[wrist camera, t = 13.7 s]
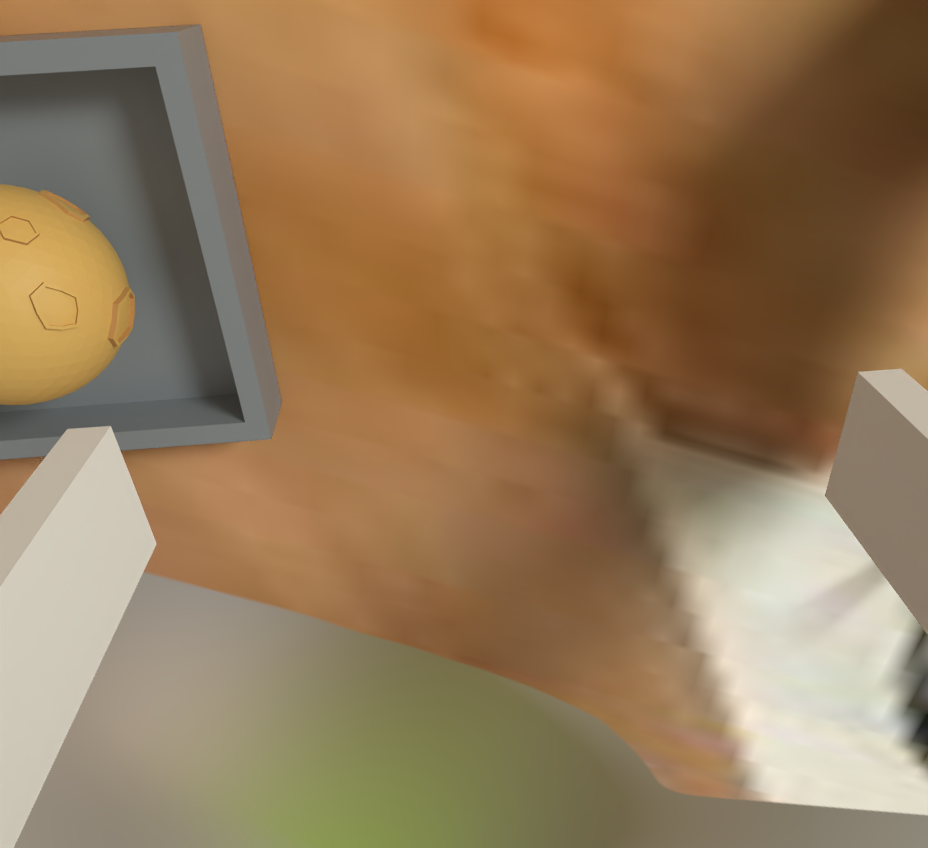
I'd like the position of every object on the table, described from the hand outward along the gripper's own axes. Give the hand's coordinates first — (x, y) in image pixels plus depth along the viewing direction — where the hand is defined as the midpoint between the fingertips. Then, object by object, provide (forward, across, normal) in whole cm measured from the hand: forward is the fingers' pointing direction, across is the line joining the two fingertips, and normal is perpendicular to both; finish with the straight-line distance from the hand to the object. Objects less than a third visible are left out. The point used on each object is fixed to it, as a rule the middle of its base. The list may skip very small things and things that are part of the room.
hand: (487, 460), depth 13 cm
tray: (+27, +21, +4) cm, 34 cm away
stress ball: (+26, +20, +4) cm, 34 cm away
